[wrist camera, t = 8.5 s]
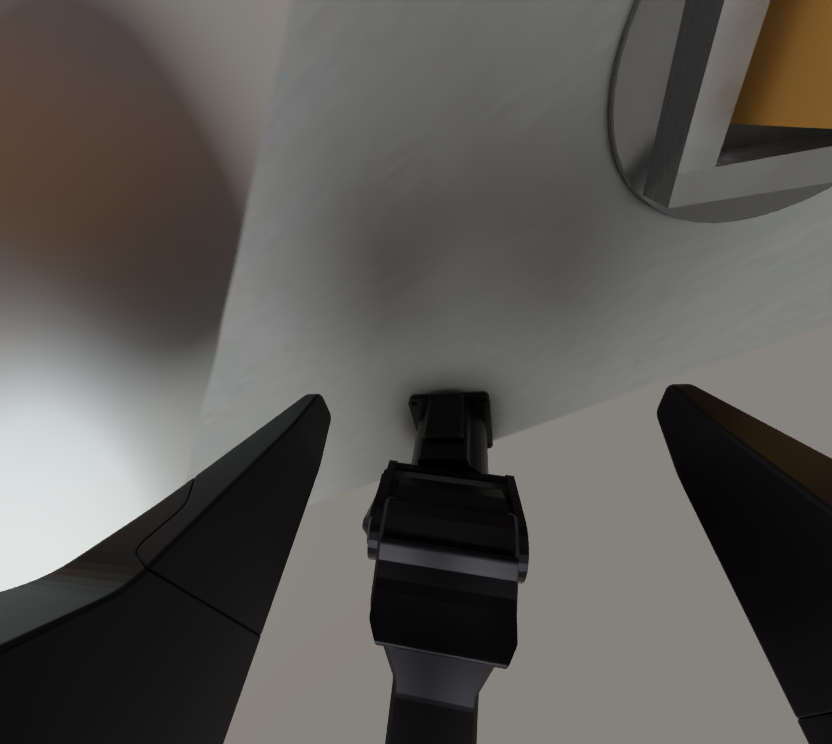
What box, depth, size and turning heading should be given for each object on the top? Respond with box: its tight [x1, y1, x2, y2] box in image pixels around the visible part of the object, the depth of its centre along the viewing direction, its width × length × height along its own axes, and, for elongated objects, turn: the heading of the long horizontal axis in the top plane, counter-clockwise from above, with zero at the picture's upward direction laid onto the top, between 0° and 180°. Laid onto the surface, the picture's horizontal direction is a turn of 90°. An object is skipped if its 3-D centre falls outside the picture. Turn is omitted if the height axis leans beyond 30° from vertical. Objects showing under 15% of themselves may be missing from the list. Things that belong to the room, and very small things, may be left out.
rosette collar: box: [608, 0, 832, 223], centre depth 10 cm, size 12×12×3 cm
